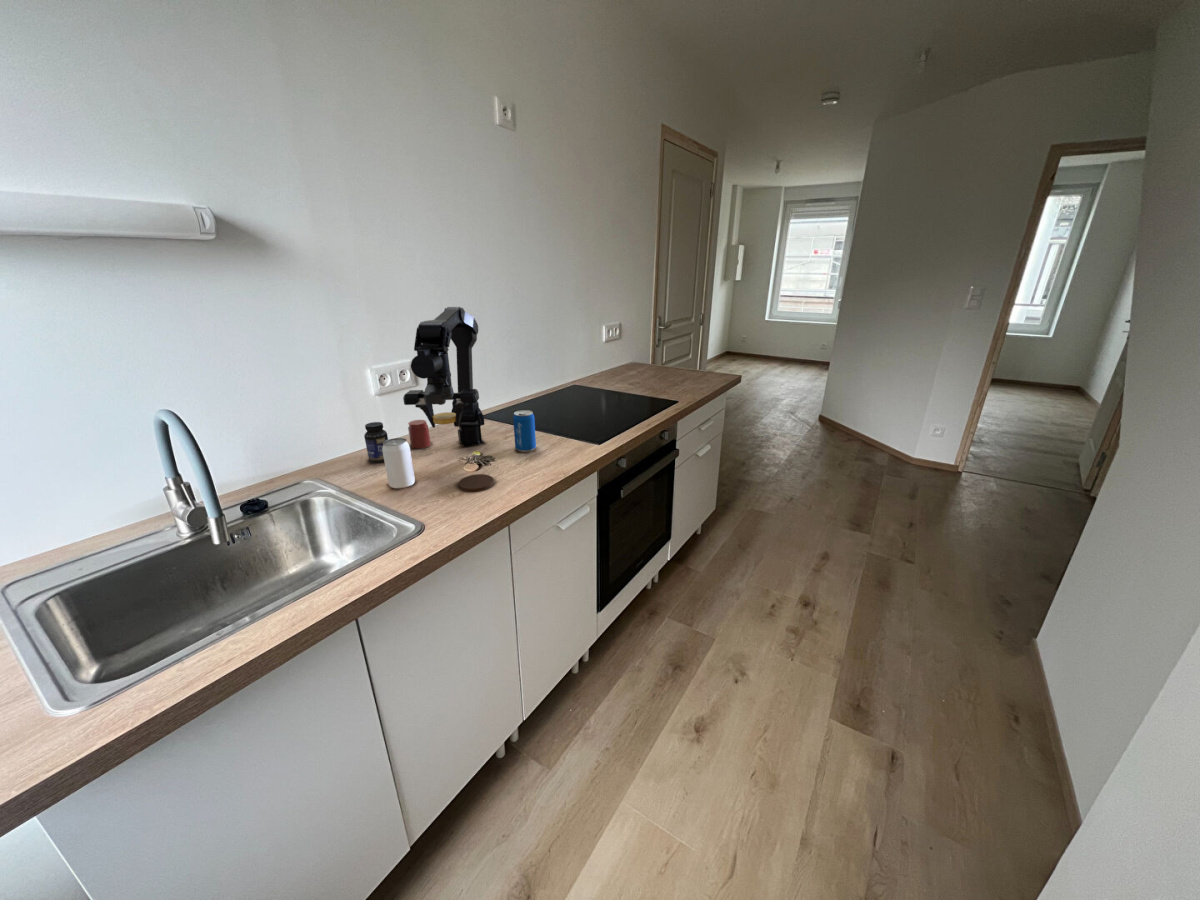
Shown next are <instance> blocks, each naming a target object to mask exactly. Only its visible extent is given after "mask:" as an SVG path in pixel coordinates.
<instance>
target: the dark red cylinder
mask: <svg viewBox="0 0 1200 900" xmlns="http://www.w3.org/2000/svg"><path fill="white" fill-rule="evenodd" d="M407 425H408V427H407V430H408V431H407V432H408V435H409V442H410V448H412V449H416V450H417V449H420V450H421V449H425V448H429V447H431V445H432V443H431V437H430V429H429V424H427V420H426V419H415V420H411V421H409V422H408V424H407Z"/></svg>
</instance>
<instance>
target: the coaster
mask: <svg viewBox="0 0 1200 900" xmlns="http://www.w3.org/2000/svg"><path fill="white" fill-rule="evenodd" d="M494 479H495V478H494V477H492V476H491V475H489V474H484V473H478V474H471V475H467V476H465V477H462V478H461V479H460V480H459V481H458V484H457V485H458V488H459V489H460V490H461V491H465V492H470V493H471V492H472V493H473V492H480V491H485V490H487V489H490V488H491V487H492V486H493V485H494V484H495V480H494Z"/></svg>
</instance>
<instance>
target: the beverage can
mask: <svg viewBox="0 0 1200 900" xmlns="http://www.w3.org/2000/svg"><path fill="white" fill-rule="evenodd" d="M512 420H513V434H514V448H515V449H516V450H517V451H518V452H521V453H528V452H533V451H534V449H536V448H537V441H536V422H535V415H534V413H533V411H532V410H529V409H526V410H525V409H523V410H522V409H521V410H517V411H515V412H514V413H513V416H512Z"/></svg>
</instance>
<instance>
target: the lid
mask: <svg viewBox="0 0 1200 900" xmlns="http://www.w3.org/2000/svg"><path fill="white" fill-rule="evenodd" d="M432 417H433V423H435V425H451V424H454V422H456V413H452V412H451V411H449V412H445V411H444V412H439V413H434V415H433V416H432Z"/></svg>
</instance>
